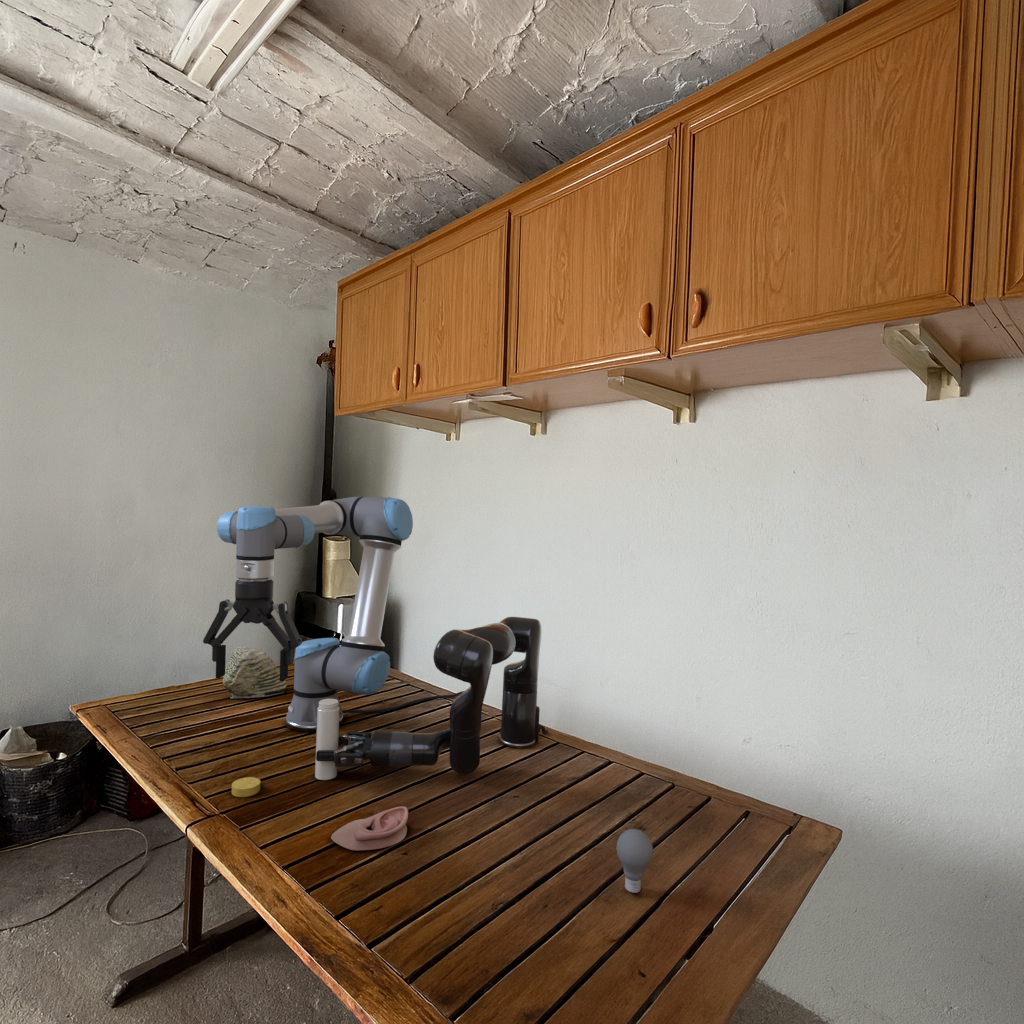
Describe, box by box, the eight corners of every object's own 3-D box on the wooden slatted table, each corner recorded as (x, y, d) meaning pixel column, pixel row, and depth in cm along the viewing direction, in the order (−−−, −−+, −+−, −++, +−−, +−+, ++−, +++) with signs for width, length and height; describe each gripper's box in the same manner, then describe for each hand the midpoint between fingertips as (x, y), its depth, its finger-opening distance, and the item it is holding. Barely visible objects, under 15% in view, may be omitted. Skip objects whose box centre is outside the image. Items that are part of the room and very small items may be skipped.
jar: (327, 769, 147) (330, 696, 147) (341, 774, 145) (344, 701, 144) (310, 775, 143) (313, 701, 143) (324, 782, 141) (327, 706, 140)
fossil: (218, 695, 195) (220, 647, 195) (278, 685, 208) (279, 640, 207) (228, 703, 189) (230, 653, 188) (289, 692, 201) (290, 645, 201)
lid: (246, 782, 139) (247, 775, 139) (266, 788, 136) (266, 780, 136) (225, 793, 134) (225, 785, 134) (244, 799, 131) (245, 791, 131)
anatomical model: (323, 824, 115) (352, 795, 126) (322, 845, 115) (351, 815, 126) (392, 835, 112) (415, 805, 123) (391, 857, 112) (414, 825, 123)
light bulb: (610, 879, 108) (613, 822, 108) (644, 879, 109) (647, 822, 109) (619, 902, 102) (622, 840, 102) (655, 901, 103) (658, 840, 103)
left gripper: (187, 578, 131) (184, 680, 131) (307, 583, 130) (304, 685, 131) (205, 574, 138) (202, 670, 139) (318, 579, 138) (315, 675, 139)
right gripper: (397, 721, 152) (328, 720, 151) (390, 744, 138) (314, 743, 137) (395, 752, 152) (327, 751, 151) (388, 778, 138) (312, 778, 137)
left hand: (252, 678), depth 135 cm, fingers open, 13 cm apart
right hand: (321, 748), depth 144 cm, fingers open, 8 cm apart
